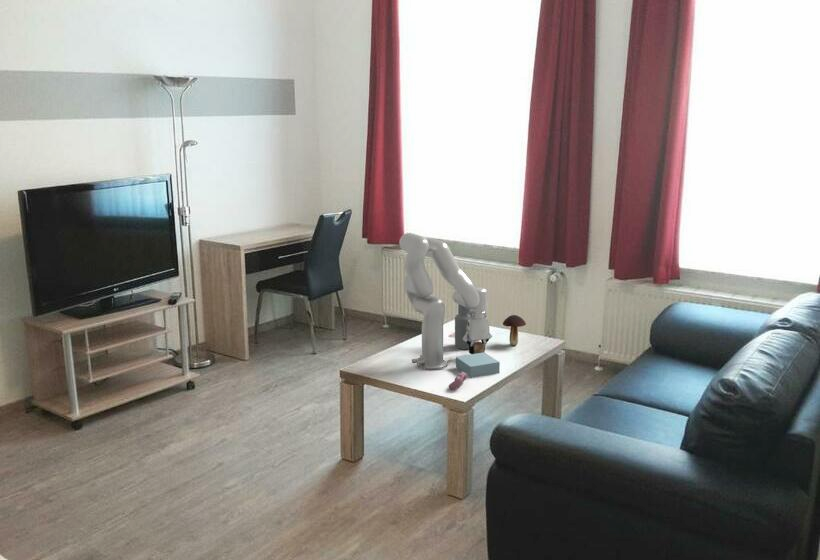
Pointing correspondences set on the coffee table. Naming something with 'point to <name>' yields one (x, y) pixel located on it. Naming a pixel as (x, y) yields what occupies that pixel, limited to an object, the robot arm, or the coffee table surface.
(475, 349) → the walnut cube
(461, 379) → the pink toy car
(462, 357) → the block
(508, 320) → the decorative mushroom
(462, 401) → the coffee table surface
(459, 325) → the water bottle
